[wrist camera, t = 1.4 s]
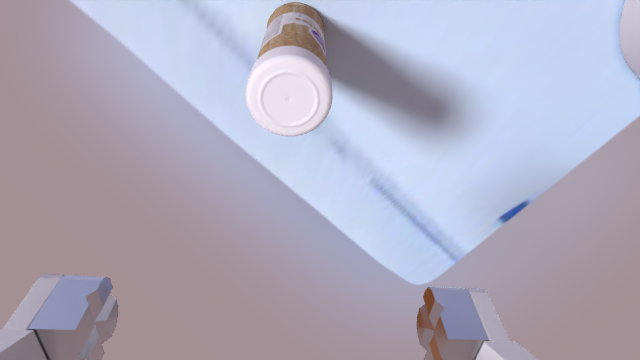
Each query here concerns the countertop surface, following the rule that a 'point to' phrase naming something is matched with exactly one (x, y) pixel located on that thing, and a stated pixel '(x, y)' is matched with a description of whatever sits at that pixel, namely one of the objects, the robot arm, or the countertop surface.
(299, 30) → the sprinkles bottle
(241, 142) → the countertop surface
